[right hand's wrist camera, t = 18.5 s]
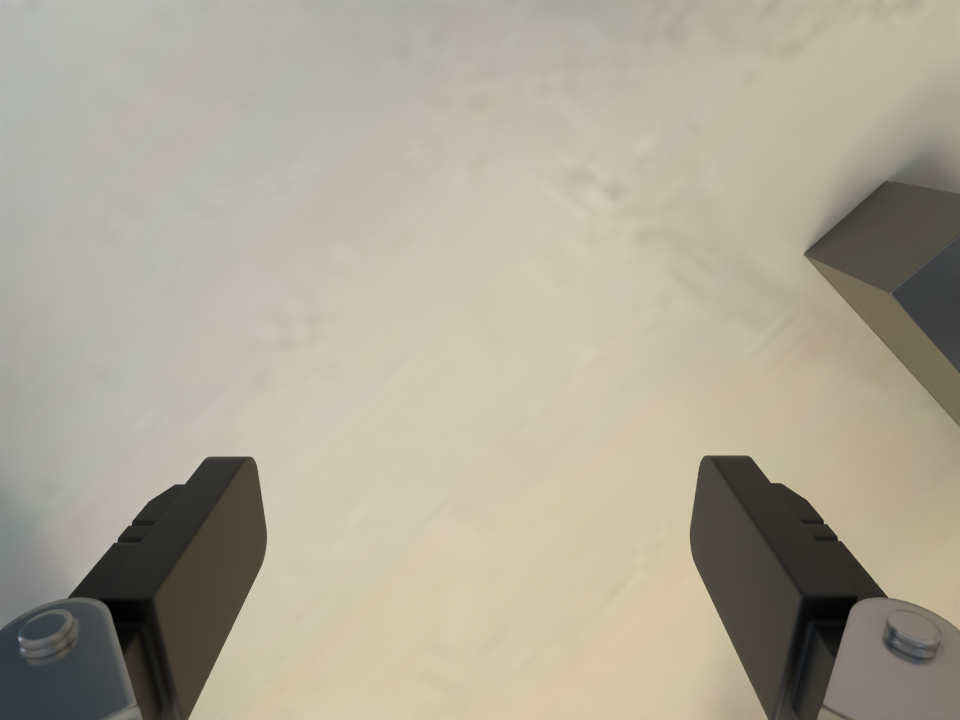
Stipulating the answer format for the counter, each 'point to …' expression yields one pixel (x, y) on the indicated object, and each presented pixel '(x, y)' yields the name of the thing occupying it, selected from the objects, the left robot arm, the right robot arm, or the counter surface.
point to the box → (904, 279)
